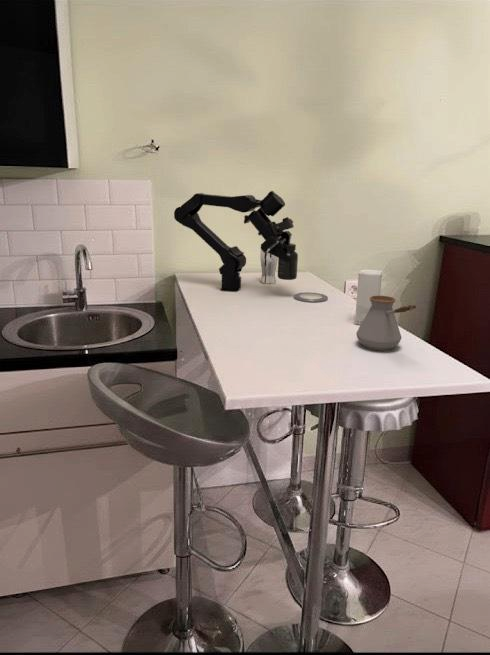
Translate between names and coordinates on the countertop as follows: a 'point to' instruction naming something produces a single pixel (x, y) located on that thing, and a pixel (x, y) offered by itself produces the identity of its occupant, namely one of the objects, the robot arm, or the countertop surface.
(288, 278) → the supplement bottle
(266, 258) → the beer glass
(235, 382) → the countertop surface
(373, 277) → the skincare box
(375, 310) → the coffee pot
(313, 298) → the coaster
